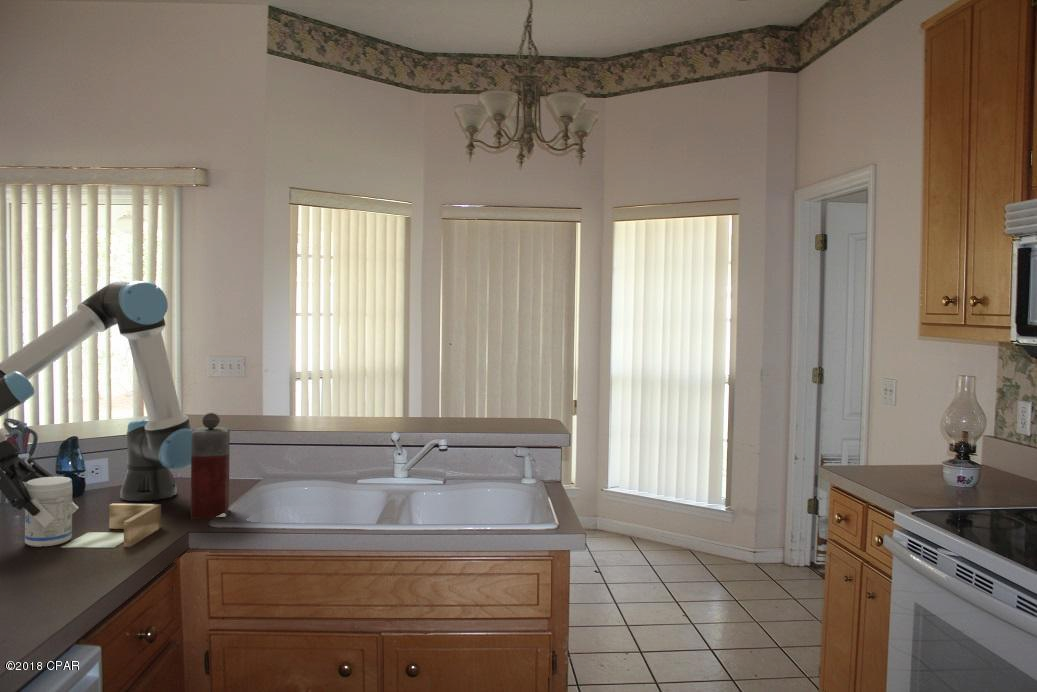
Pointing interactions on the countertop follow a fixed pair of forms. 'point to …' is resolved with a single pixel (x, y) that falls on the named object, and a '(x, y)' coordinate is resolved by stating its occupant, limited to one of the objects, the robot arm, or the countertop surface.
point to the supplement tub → (50, 511)
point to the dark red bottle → (210, 469)
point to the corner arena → (123, 527)
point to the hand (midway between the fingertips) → (62, 517)
